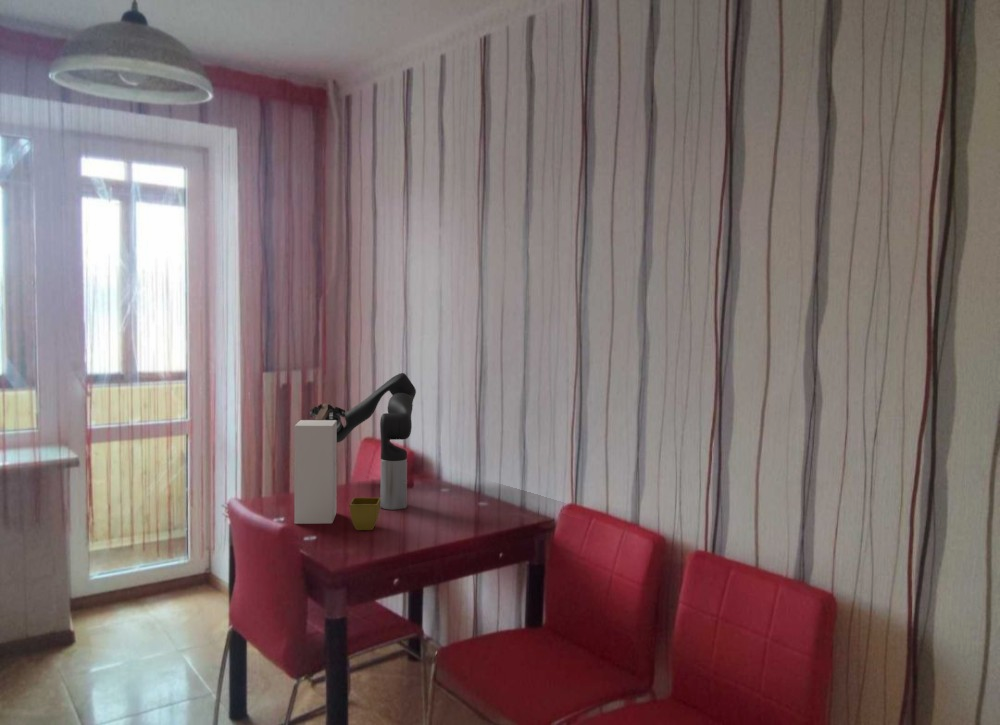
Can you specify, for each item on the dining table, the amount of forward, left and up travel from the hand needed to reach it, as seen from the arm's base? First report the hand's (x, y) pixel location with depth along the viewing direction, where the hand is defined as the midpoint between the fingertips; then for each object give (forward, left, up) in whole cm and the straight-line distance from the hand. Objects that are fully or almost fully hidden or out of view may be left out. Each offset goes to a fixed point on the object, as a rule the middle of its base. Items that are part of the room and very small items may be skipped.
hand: (324, 407), depth 271 cm
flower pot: (-17, +37, -34) cm, 53 cm away
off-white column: (0, +25, -34) cm, 42 cm away
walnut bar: (0, +4, -3) cm, 5 cm away
